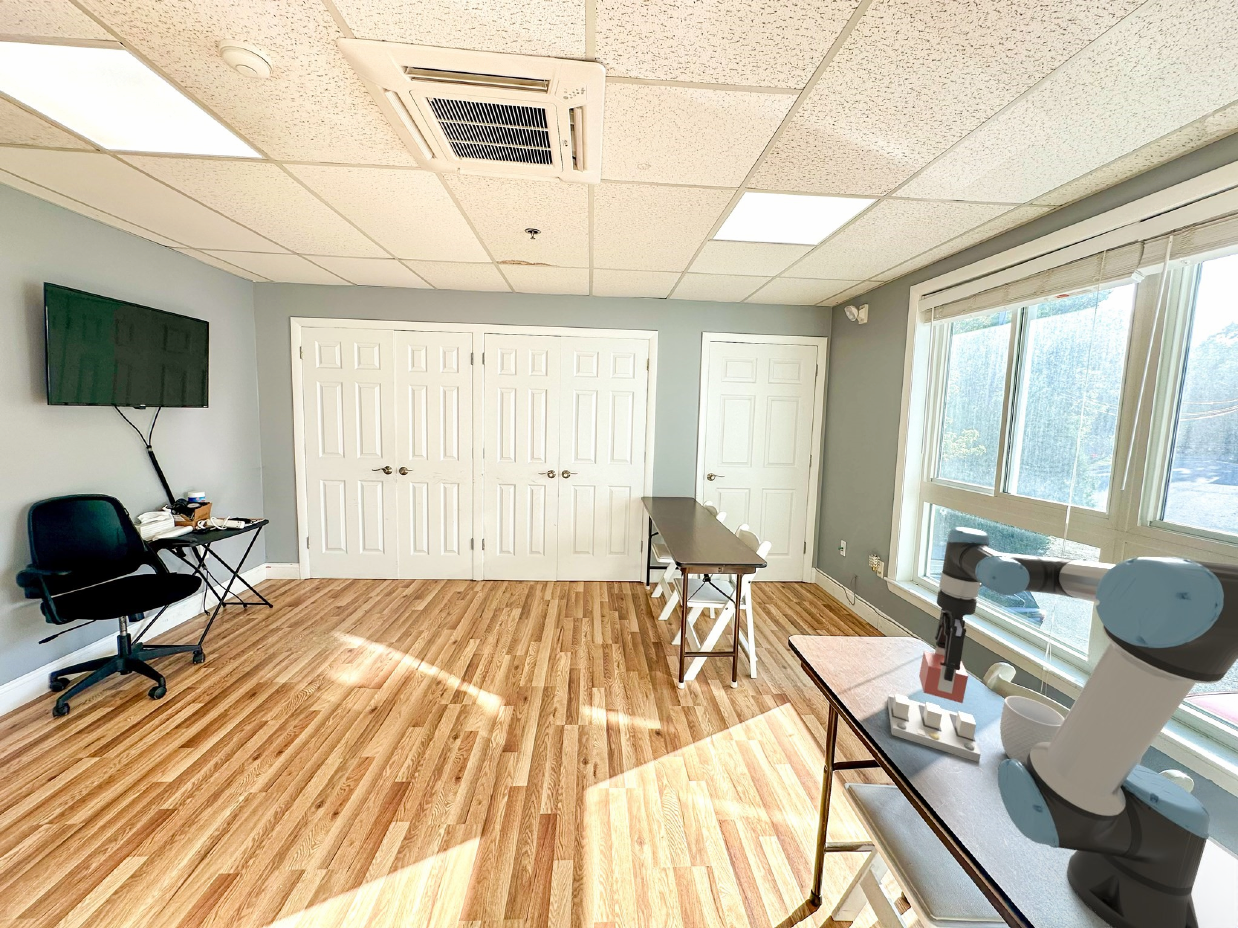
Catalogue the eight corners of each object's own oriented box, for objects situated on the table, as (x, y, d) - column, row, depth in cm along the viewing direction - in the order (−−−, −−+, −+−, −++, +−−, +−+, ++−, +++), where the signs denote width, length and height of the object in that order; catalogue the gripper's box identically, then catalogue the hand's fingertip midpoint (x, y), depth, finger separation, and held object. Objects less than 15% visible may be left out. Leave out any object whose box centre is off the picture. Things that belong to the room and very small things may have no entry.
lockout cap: (962, 703, 112) (968, 676, 111) (923, 692, 115) (928, 665, 114) (955, 685, 119) (960, 659, 117) (919, 675, 122) (923, 650, 121)
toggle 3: (973, 739, 117) (976, 724, 116) (958, 734, 118) (961, 720, 117) (969, 729, 120) (972, 715, 120) (955, 725, 122) (958, 711, 121)
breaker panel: (979, 761, 112) (980, 753, 112) (891, 734, 120) (893, 726, 120) (964, 722, 127) (966, 714, 126) (887, 699, 134) (888, 692, 134)
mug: (1083, 778, 109) (1095, 726, 107) (1068, 798, 103) (1081, 743, 101) (1004, 737, 122) (1014, 690, 120) (987, 753, 115) (996, 703, 114)
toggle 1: (907, 719, 123) (909, 705, 122) (893, 715, 124) (896, 701, 123) (905, 710, 126) (907, 696, 126) (892, 707, 127) (894, 693, 127)
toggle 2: (939, 728, 120) (941, 714, 119) (925, 724, 121) (927, 710, 120) (936, 719, 123) (939, 705, 123) (923, 715, 125) (925, 701, 124)
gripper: (989, 614, 102) (969, 711, 106) (966, 581, 120) (951, 665, 124) (947, 605, 105) (930, 700, 109) (932, 575, 123) (917, 656, 127)
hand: (941, 681), depth 116 cm, fingers closed on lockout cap, 8 cm apart
